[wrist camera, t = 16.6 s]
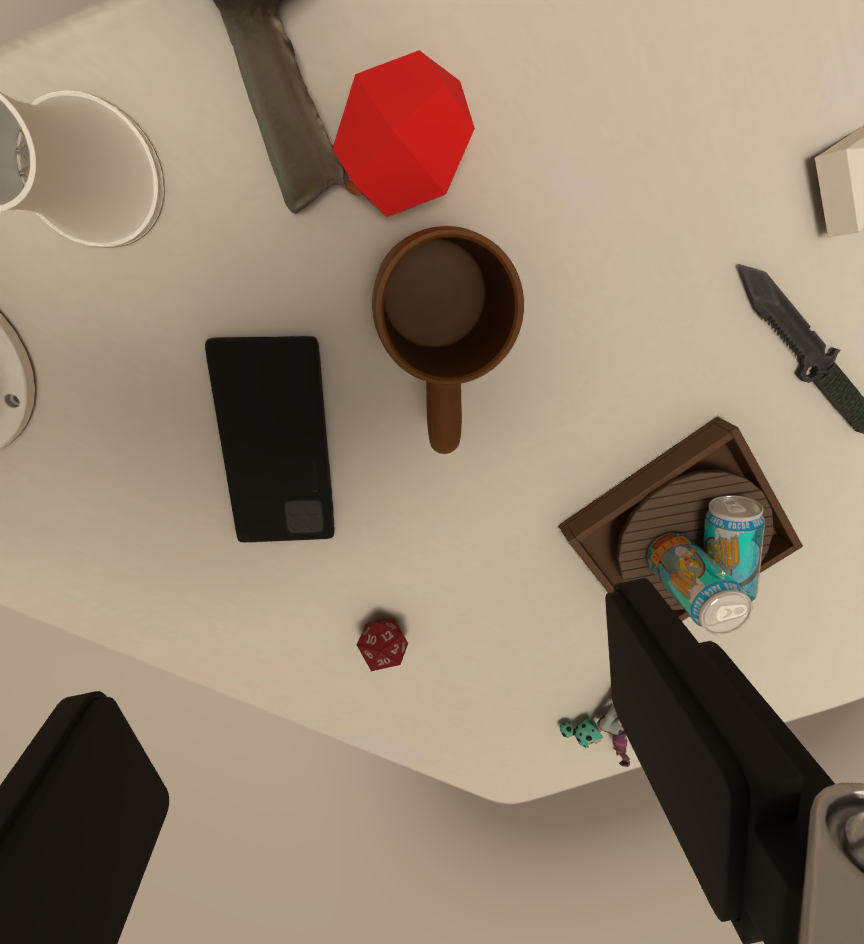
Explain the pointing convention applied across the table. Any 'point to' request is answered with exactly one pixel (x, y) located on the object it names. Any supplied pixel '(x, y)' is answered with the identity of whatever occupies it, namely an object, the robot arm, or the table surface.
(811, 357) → the knife
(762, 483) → the tray
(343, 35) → the table surface
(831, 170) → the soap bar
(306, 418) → the smartphone
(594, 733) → the figurine
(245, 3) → the sculpture
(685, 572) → the blue cans and disc
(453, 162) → the red faceted polyhedron
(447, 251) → the mug
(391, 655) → the dice
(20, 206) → the vase
